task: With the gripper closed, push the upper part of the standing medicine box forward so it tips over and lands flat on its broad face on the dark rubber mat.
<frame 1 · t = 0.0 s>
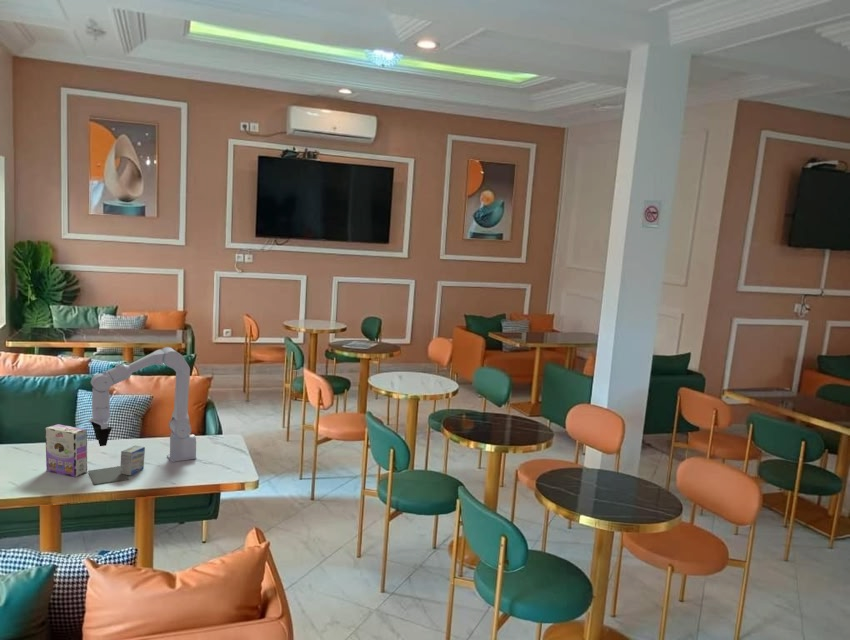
hand: (101, 442, 241), 10 cm above the table, fingers open, 7 cm apart
medicine box: (131, 472, 241), on the table, touching mat
candy box: (66, 472, 237), on the table
mat: (107, 475, 236), on the table
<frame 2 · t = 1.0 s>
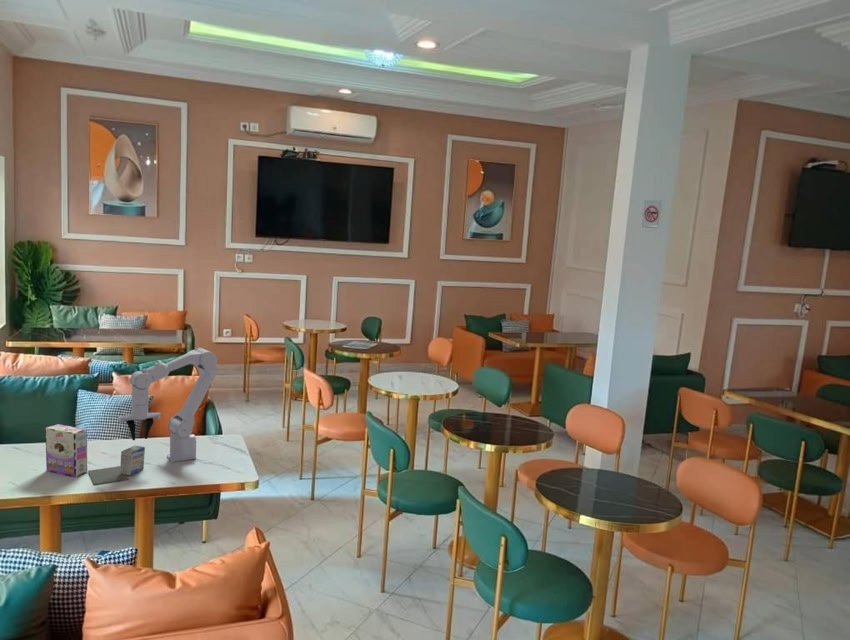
hand: (139, 438, 246), 10 cm above the table, fingers open, 4 cm apart
nothing on the table moved.
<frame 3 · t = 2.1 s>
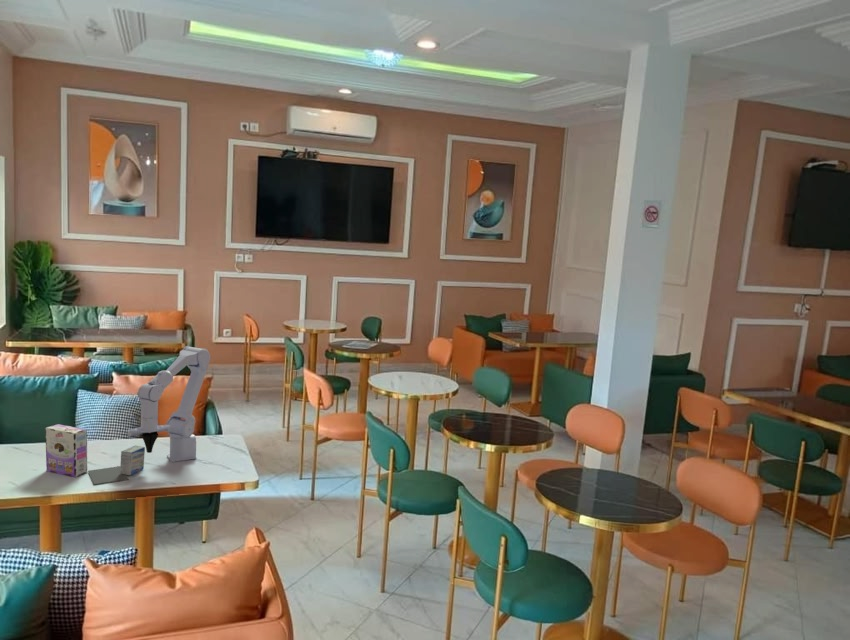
hand: (149, 451, 243), 7 cm above the table, fingers closed
medicine box: (131, 472, 241), on the table, touching gripper, mat
everything else where it was.
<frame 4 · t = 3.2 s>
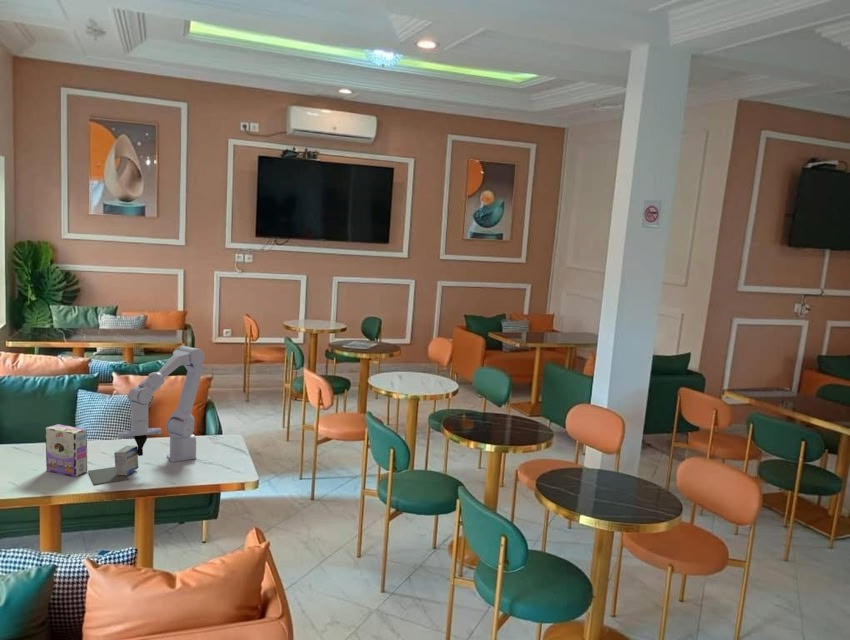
hand: (139, 455, 241), 6 cm above the table, fingers closed, pressing on medicine box
medicine box: (127, 472, 240), on the table, touching gripper, mat
everything else where it was.
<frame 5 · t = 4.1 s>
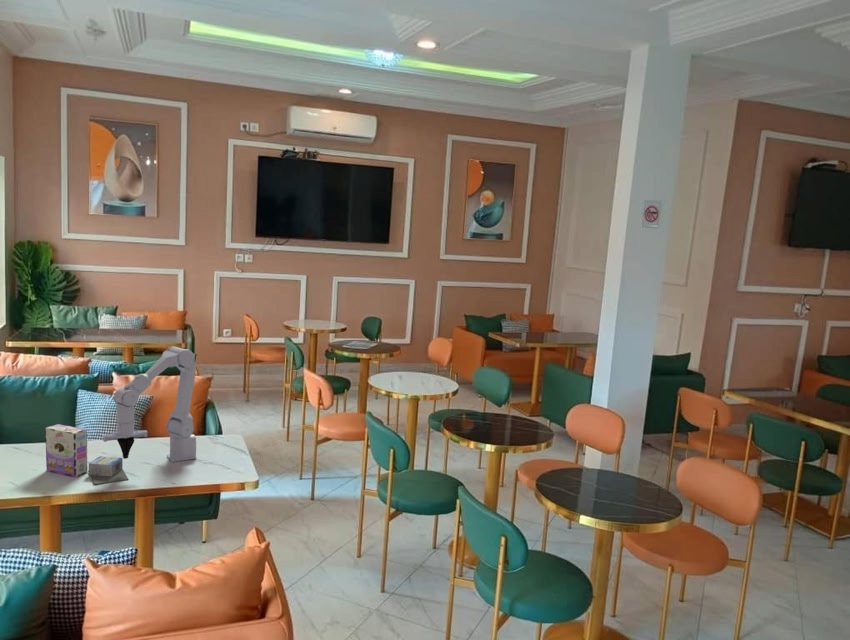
hand: (125, 457, 239), 6 cm above the table, fingers closed
medicine box: (118, 467, 238), point 3 cm above the table, touching mat
everything else where it was.
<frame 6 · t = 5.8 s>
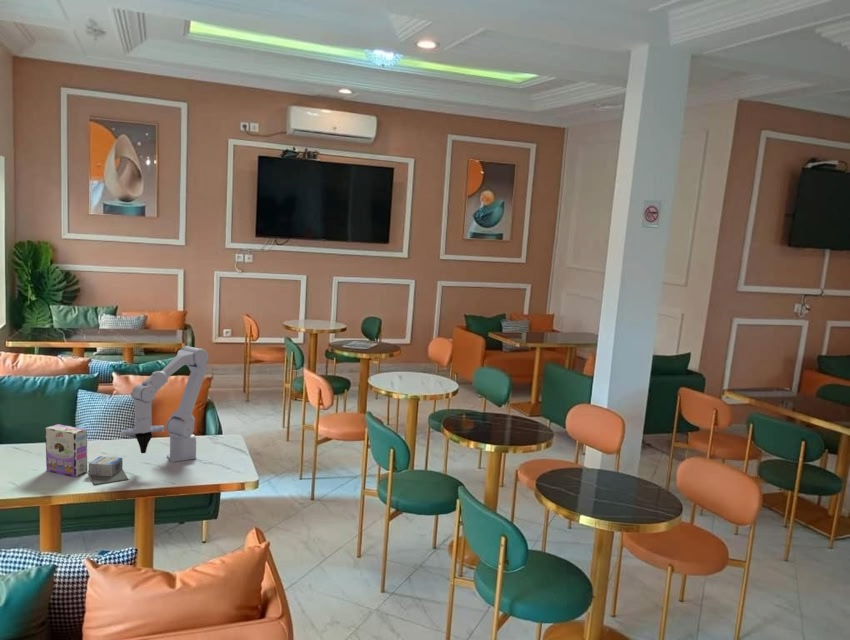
hand: (143, 452, 243), 7 cm above the table, fingers closed
nothing on the table moved.
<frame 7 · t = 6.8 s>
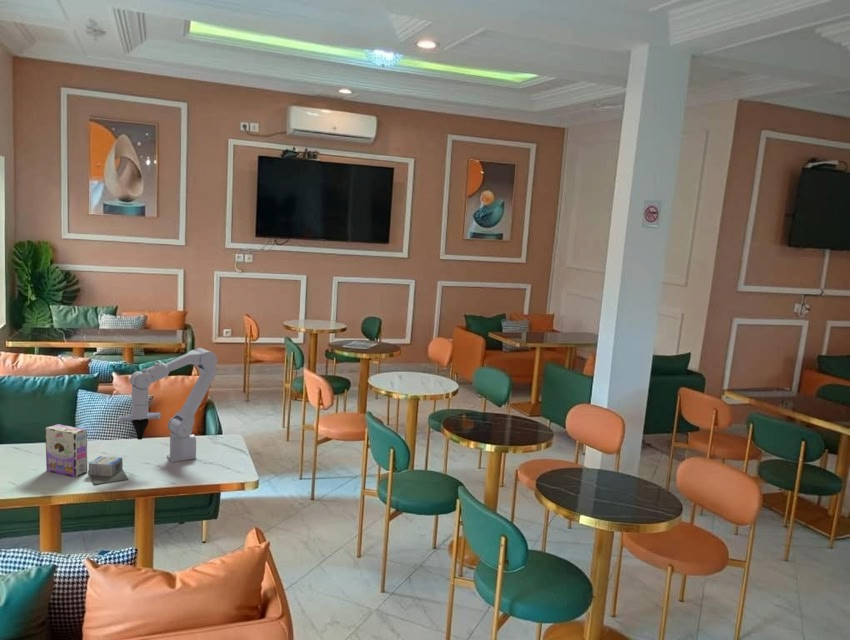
hand: (139, 438, 246), 10 cm above the table, fingers closed
nothing on the table moved.
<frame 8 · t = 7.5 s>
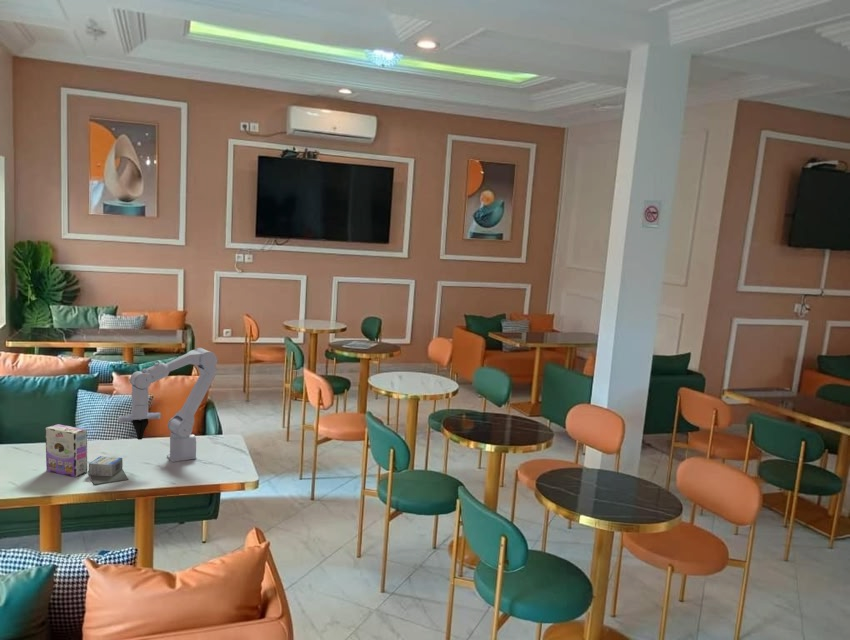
hand: (139, 438, 246), 10 cm above the table, fingers closed
nothing on the table moved.
at the end: medicine box tilted 89°; medicine box inside the target area (4.0 cm from its centre), point 2.5 cm above the table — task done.
